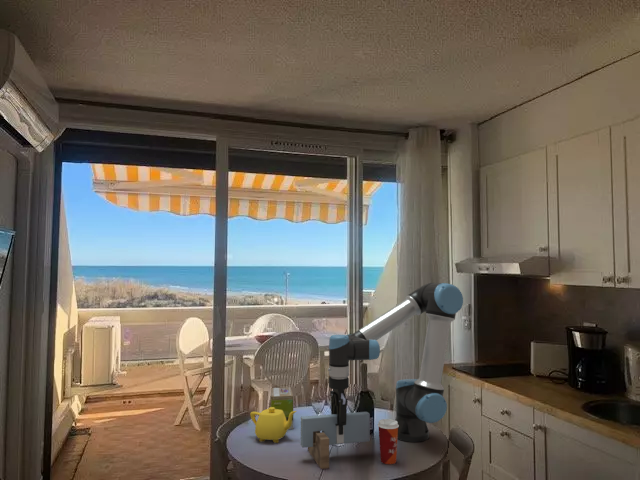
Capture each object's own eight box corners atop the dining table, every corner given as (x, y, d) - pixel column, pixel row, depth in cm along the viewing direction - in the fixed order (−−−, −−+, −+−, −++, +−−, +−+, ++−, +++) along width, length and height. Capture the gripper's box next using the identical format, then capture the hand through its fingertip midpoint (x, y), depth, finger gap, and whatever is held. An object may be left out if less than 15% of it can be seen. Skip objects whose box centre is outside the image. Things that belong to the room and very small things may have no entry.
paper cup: (396, 466, 166) (396, 426, 167) (375, 463, 168) (375, 423, 169) (401, 458, 173) (400, 419, 174) (380, 455, 176) (380, 417, 177)
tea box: (270, 419, 218) (270, 387, 219) (292, 418, 219) (292, 386, 220) (270, 430, 203) (270, 395, 204) (293, 429, 205) (294, 394, 206)
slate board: (302, 447, 170) (302, 419, 170) (300, 444, 173) (300, 416, 173) (369, 441, 177) (369, 413, 178) (366, 438, 180) (366, 411, 180)
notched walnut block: (307, 450, 181) (307, 423, 181) (315, 449, 182) (315, 422, 182) (320, 469, 164) (321, 439, 164) (329, 468, 164) (329, 438, 165)
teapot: (292, 446, 184) (292, 414, 185) (244, 442, 189) (244, 410, 190) (300, 435, 198) (301, 405, 198) (255, 431, 202) (256, 401, 203)
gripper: (323, 373, 183) (322, 434, 182) (335, 382, 168) (335, 450, 166) (341, 372, 186) (341, 433, 184) (355, 381, 170) (355, 448, 168)
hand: (338, 441), depth 175 cm, fingers closed on slate board, 3 cm apart
